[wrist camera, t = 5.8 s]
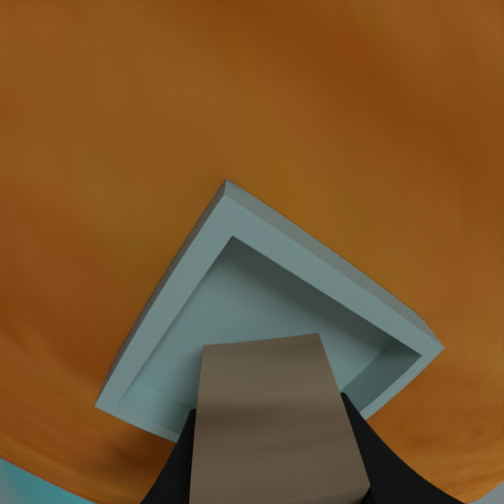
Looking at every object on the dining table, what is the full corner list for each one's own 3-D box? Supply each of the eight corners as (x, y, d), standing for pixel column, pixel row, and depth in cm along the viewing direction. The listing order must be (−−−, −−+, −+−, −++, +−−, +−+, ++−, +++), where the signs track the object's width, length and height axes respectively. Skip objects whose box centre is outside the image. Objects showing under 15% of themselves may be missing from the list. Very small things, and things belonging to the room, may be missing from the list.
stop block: (314, 403, 12) (345, 528, 7) (221, 414, 12) (220, 542, 7) (318, 332, 11) (370, 485, 5) (203, 345, 11) (189, 506, 5)
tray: (281, 439, 16) (286, 474, 14) (109, 368, 14) (94, 406, 11) (419, 315, 13) (444, 347, 11) (226, 178, 10) (223, 194, 8)
